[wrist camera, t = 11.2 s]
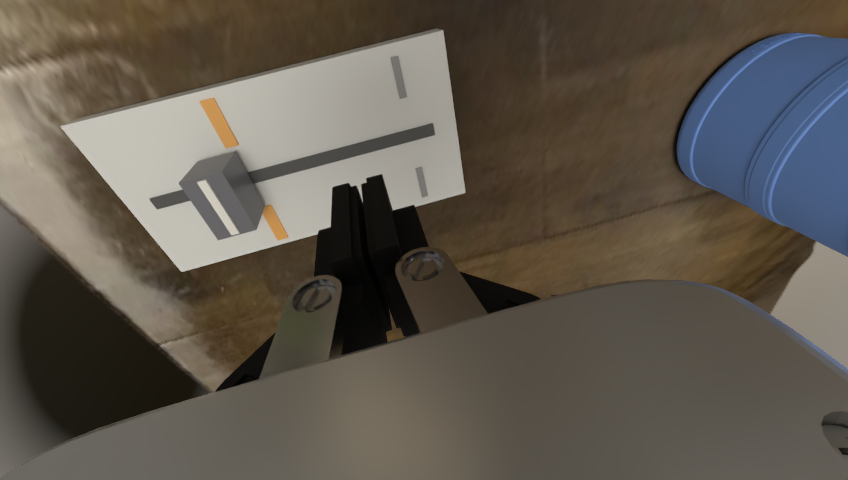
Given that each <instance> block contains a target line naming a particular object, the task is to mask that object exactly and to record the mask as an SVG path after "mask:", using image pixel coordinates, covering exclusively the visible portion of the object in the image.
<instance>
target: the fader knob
mask: <svg viewBox="0 0 848 480" xmlns="http://www.w3.org/2000/svg"><path fill="white" fill-rule="evenodd" d="M179 185H180V186H181V188H182V189H183V191H184V192H185V193H186V195H187V196H188V198H189V199H190V201H191V202H192V204H193V205H194V206H195V208H196V209H197V211H198V212H199V214H200V215H201V216H202V218H203V219H204V221H205V222H206V224H207V225H208V227H209V228H210V229H211V231H212V232H213V234H214V235H215V237H216V238H217V240H222V239H225V238H229V237H233V236H236V235H240V234H243V233H247V232H251V231H254V230H257V227H258V225H259V222H260V219H261V216H262V213H263V210H264V207H265V204H264V202H263V200H262V198H261V197H260V195H259V193H258V191H257V189H256V187H255V186H254V184H253V182H252V180H251V178H250V176H249V175H248V173H247V171H246V169H245V167H244V166H243V164H242V162H241V160H240V158H239V156H238V155H237V153H236V151H235V152H231V153H227V154H223V155H219V156H216V157H212V158H208V159H204V160H200V161H197V162H196V163H195V165H194V166H193V167H192V168H191V169H190V170H189V172H188V173H187V174H186V175H185V176H184V177H183V178H182V180H181V181H180V182H179Z"/></svg>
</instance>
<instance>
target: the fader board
mask: <svg viewBox="0 0 848 480" xmlns="http://www.w3.org/2000/svg"><path fill="white" fill-rule="evenodd" d="M60 127H61V128H62V129H63V130H64V132H65V133H66V134H67V135H68V136H69V138H70V139H71V140H72V141H73V142H74V144H75V145H76V146H77V147H78V148H79V150H80V151H81V152H82V153H83V154H84V156H85V157H86V158H87V159H88V160H89V162H90V163H91V164H92V165H93V166H94V168H95V169H96V170H97V171H98V172H99V174H100V175H101V176H102V177H103V178H104V180H105V181H106V182H107V183H108V184H109V186H110V187H111V188H112V189H113V190H114V192H115V193H116V194H117V195H118V196H119V198H120V199H121V200H122V201H123V202H124V204H125V205H126V206H127V207H128V208H129V210H130V211H131V212H132V213H133V214H134V216H135V217H136V218H137V219H138V220H139V222H140V223H141V224H142V225H143V226H144V228H145V229H146V230H147V231H148V232H149V234H150V235H151V236H152V237H153V238H154V240H155V241H156V242H157V243H158V244H159V246H160V247H161V248H162V249H163V250H164V252H165V253H166V254H167V255H168V256H169V258H170V259H171V260H172V261H173V262H174V264H175V265H176V266H177V267H178V268H179V270H180V271H181V272H183V271H187V270H191V269H194V268H198V267H201V266H205V265H209V264H212V263H216V262H219V261H223V260H226V259H230V258H234V257H237V256H241V255H244V254H248V253H252V252H255V251H259V250H262V249H266V248H270V247H273V246H277V245H280V244H284V243H287V242H291V241H295V240H298V239H302V238H305V237H309V236H313V235H316V234H318V231H319V230H322V229H326V228H329V227H331V207H332V187H335V186H338V185H342V184H346V183H349V184H350V186H351V187H352V186H357V188H358V190H359V193H360V196H361V199H362V202H363V198H362V188H361V184H363V183H367V181H366V178H369V177H372V176H376V175H380V174H382V175H383V179H384V182H385V186H386V189H387V192H388V196H389V199H390V203H391V206H392V209H393V210H396V209H400V208H404V207H407V206H411V205H414V206H415V207H417V206H420V205H424V204H427V203H431V202H435V201H438V200H442V199H445V198H449V197H452V196H456V195H460V194H463V193H465V185H464V178H463V171H462V163H461V156H460V149H459V142H458V134H457V127H456V120H455V112H454V105H453V98H452V90H451V83H450V76H449V69H448V61H447V54H446V47H445V39H444V32H443V30H441V29H437V28H436V29H432V30H428V31H424V32H420V33H416V34H412V35H408V36H404V37H400V38H396V39H392V40H389V41H385V42H381V43H377V44H373V45H369V46H365V47H361V48H357V49H353V50H349V51H345V52H341V53H337V54H333V55H329V56H325V57H321V58H317V59H313V60H309V61H305V62H301V63H297V64H293V65H289V66H285V67H281V68H277V69H273V70H269V71H265V72H261V73H257V74H253V75H249V76H245V77H241V78H237V79H233V80H229V81H225V82H221V83H217V84H213V85H209V86H205V87H201V88H197V89H193V90H189V91H185V92H181V93H177V94H173V95H169V96H165V97H161V98H157V99H153V100H149V101H145V102H141V103H137V104H133V105H129V106H125V107H121V108H117V109H113V110H109V111H105V112H101V113H97V114H93V115H89V116H85V117H81V118H77V119H75V120H73V121H71V122H69V123H66V124H64V125H62V126H60ZM235 151H236V153H237V155H238V156H239V158H240V160H241V162H242V164H243V166H244V167H245V169H246V171H247V173H248V175H249V176H250V178H251V180H252V182H253V184H254V186H255V187H256V189H257V191H258V193H259V195H260V197H261V198H262V200H263V202H264V204H265V207H264V210H263V213H262V216H261V219H260V222H259V225H258V227H257V230H254V231H251V232H247V233H243V234H240V235H236V236H233V237H229V238H225V239H222V240H217V238H216V237H215V235H214V234H213V232H212V231H211V229H210V228H209V227H208V225H207V224H206V222H205V221H204V219H203V218H202V216H201V215H200V214H199V212H198V211H197V209H196V208H195V206H194V205H193V204H192V202H191V201H190V199H189V198H188V196H187V195H186V193H185V192H184V191H183V189H182V188H181V186H180V185H179V182H180V181H181V180H182V178H183V177H184V176H185V175H186V174H187V173H188V172H189V170H190V169H191V168H192V167H193V166H194V165H195V163H196V162H197V161H200V160H204V159H208V158H212V157H216V156H219V155H223V154H227V153H231V152H235Z"/></svg>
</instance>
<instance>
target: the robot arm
mask: <svg viewBox="0 0 848 480" xmlns="http://www.w3.org/2000/svg"><path fill="white" fill-rule="evenodd" d="M366 181H367V183H363V184H361V188H362V198H363V202H362V199H361V196H360V193H359V190H358V188H357V186H352V187H351V186H350V184H349V183H346V184H342V185H338V186H335V187H332V207H331V227H329V228H326V229H322V230H319V231H318V238H317V249H316V260H315V271H314V277H312V278H310V279H308V280H306V281H304V282H302V283H301V284H300V285H298V286H297V287H296V288H295V289H294V290H293V291H292V292H291V294H290V295H289V297H288V299H287V302H286V305H285V307H284V310H283V313H282V316H281V319H280V321H279V324H278V327H277V330H276V332H275V333H274V334H273V335H272V336H271V337H270V338H269V339H268V340H267V341H266V342H265V343H264V344H263V345H262V346H261V347H259V348H258V349H257V350H256V351H255V352H254V353H253V354H252V355H251V356H250V357H249V358H248V359H247V360H246V361H245V362H244V363H243V364H241V365H240V366H239V367H238V368H237V369H236V370H235V371H234V372H233V373H232V374H231V375H230V376H229V377H228V378H227V379H226V380H225V381H224V382H223V383H222V384H221V385H220V386H219V387H218V388H217V390H216V391H215V392H214V393H210V394H205V395H203V396H200V397H197V398H193V399H190V400H187V401H183V402H180V403H176V404H173V405H170V406H166V407H163V408H159V409H157V410H153V411H150V412H147V413H144V414H141V415H138V416H135V417H132V418H129V419H126V420H122V421H119V422H116V423H113V424H110V425H107V426H104V427H101V428H98V429H96V430H93V431H91V432H88V433H86V434H83V435H81V436H78V437H76V438H73V439H70V440H68V441H66V442H64V443H62V444H60V445H58V446H56V447H54V448H52V449H50V450H47V451H45V452H43V453H41V454H39V455H37V456H35V457H33V458H32V459H30V460H28V461H26V462H25V463H23V464H21V465H20V466H18V467H16V468H14V469H13V470H11V471H9V472H8V473H6V474H4V475H3V476H1V477H0V480H848V369H847V368H846V367H844V366H843V365H842V364H840V363H839V362H838V361H836V360H835V359H834V358H832V357H831V356H829V355H828V354H827V353H825V352H824V351H823V350H821V349H820V348H819V347H817V346H816V345H814V344H813V343H812V342H810V341H809V340H807V339H806V338H804V337H803V336H802V335H800V334H799V333H797V332H796V331H794V330H793V329H792V328H790V327H788V326H787V325H785V324H784V323H782V322H781V321H779V320H778V319H776V318H775V317H773V316H772V315H770V314H769V313H767V312H765V311H764V310H762V309H761V308H759V307H757V306H756V305H754V304H752V303H751V302H749V301H747V300H745V299H743V298H741V297H739V296H737V295H736V294H733V293H731V292H729V291H726V290H724V289H722V288H718V287H715V286H711V285H708V284H703V283H697V282H691V281H681V280H651V279H647V280H635V281H622V282H616V283H610V284H604V285H598V286H593V287H589V288H585V289H581V290H577V291H572V292H568V293H564V294H560V295H551V297H548V298H544V299H540V298H539V297H537V296H534V295H532V294H530V293H527V292H523V291H520V290H517V289H514V288H511V287H507V286H504V285H501V284H498V283H494V282H491V281H488V280H485V279H482V278H478V277H475V276H472V275H469V274H466V273H462V272H459V271H458V269H457V268H456V266H455V265H454V263H453V262H452V260H451V259H450V257H449V256H448V255H447V254H446V253H445V252H444V251H443V250H440V249H438V248H434V247H429V246H428V243H427V241H426V238H425V235H424V232H423V229H422V226H421V223H420V220H419V217H418V214H417V211H416V208H415V206H414V205H411V206H407V207H404V208H400V209H396V210H393V209H392V206H391V203H390V199H389V196H388V192H387V189H386V186H385V182H384V179H383V175H382V174H380V175H376V176H372V177H369V178H366ZM389 309H390V312H391V314H392V317H393V320H394V322H395V325H396V327H397V328H400V327H401V330H402V333H403V335H404V336H406V337H404V338H401V339H397V340H394V341H390V342H387V336H386V331H390V330H392V326H391V320H390V313H389Z"/></svg>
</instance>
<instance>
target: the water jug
mask: <svg viewBox="0 0 848 480" xmlns="http://www.w3.org/2000/svg"><path fill="white" fill-rule="evenodd" d="M677 159H678V163H679V166H680V168H681V170H682V171H683V173H684V174H685V175H686V176H687V177H688V178H689V179H691V180H692V181H694V182H696V183H698V184H700V185H702V186H704V187H707V188H710V189H713V190H715V191H717V192H719V193H721V194H723V195H725V196H727V197H729V198H731V199H733V200H735V201H737V202H739V203H741V204H743V205H745V206H747V207H749V208H751V209H752V210H753V211H755V212H756V213H758V214H760V215H761V216H763V217H765V218H767V219H769V220H771V221H773V222H775V223H778V224H780V225H783V226H787V227H789V228H791V229H793V230H795V231H797V232H799V233H801V234H803V235H805V236H807V237H809V238H811V239H813V240H815V241H817V242H819V243H821V244H823V245H825V246H827V247H829V248H831V249H833V250H835V251H838V252H839V253H841V254H843V255H845V256H848V39H844V38H830V37H823V36H820V35H815V34H803V33H786V34H780V35H776V36H772V37H769V38H766V39H764V40H761V41H759V42H757V43H755V44H753V45H751V46H750V47H748V48H746V49H745V50H743V51H741V52H740V53H738V54H737V55H736V56H734V57H733V58H732V59H730V60H729V61H728V62H727V63H726V64H725V65H723V66H722V67H721V68H720V69H719V70H718V71H717V72H716V73H715V74H714V75H713V76H712V77H711V78H710V79H709V81H708V82H707V83H706V84H705V85H704V87H703V88H702V89H701V91H700V92H699V93H698V95H697V96H696V98H695V99H694V101H693V102H692V104H691V106H690V107H689V109H688V111H687V113H686V115H685V118H684V120H683V122H682V125H681V128H680V131H679V135H678V140H677Z"/></svg>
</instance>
